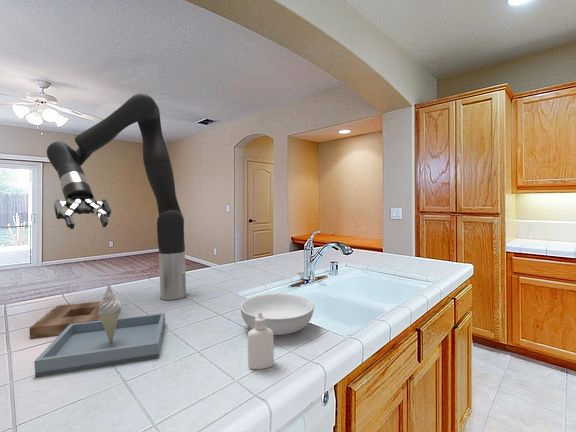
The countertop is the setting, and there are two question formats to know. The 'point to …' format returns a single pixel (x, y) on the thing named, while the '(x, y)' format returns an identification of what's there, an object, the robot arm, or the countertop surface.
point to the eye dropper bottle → (260, 345)
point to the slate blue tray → (102, 345)
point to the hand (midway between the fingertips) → (89, 226)
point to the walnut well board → (64, 319)
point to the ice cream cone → (109, 312)
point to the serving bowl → (278, 312)
